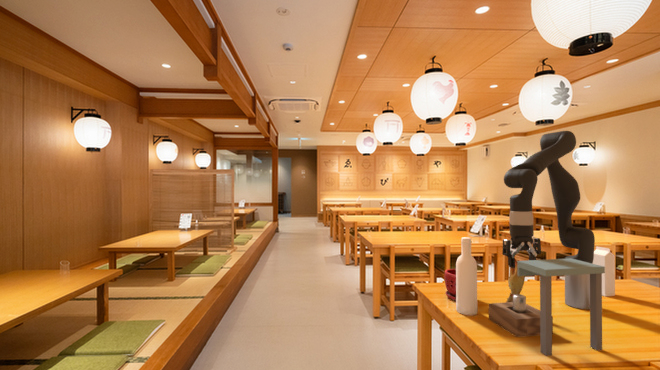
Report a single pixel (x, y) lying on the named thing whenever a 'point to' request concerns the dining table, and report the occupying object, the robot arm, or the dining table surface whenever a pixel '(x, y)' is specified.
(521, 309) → the peg
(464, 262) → the bottle
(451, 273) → the plant pot
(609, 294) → the milk
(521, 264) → the small grey stool
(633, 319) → the dining table surface
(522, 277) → the crab claw
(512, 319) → the socket block
